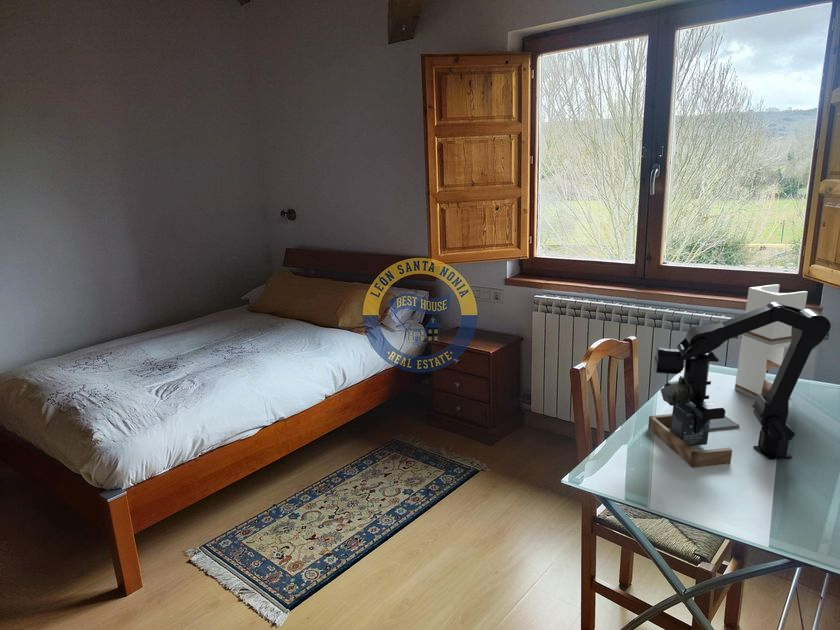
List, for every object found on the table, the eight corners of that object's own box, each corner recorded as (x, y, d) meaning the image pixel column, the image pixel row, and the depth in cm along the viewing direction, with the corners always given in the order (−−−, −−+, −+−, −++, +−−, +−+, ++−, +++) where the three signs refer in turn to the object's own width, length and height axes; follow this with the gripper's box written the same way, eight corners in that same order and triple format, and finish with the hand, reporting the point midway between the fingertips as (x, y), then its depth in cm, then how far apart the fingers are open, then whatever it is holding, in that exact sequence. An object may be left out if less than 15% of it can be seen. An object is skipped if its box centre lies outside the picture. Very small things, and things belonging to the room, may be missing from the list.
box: (680, 448, 150) (684, 412, 147) (669, 438, 155) (672, 403, 152) (708, 445, 151) (712, 409, 148) (695, 435, 156) (699, 400, 153)
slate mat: (739, 427, 162) (739, 425, 161) (700, 431, 160) (701, 429, 160) (712, 409, 173) (713, 407, 173) (676, 413, 171) (676, 410, 171)
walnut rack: (730, 463, 144) (732, 449, 143) (692, 467, 142) (694, 453, 141) (681, 425, 164) (683, 412, 163) (648, 428, 163) (649, 416, 162)
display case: (761, 402, 177) (778, 295, 167) (734, 389, 187) (748, 287, 177) (789, 396, 180) (807, 291, 170) (761, 384, 190) (777, 284, 180)
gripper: (648, 364, 155) (643, 415, 160) (688, 391, 138) (682, 448, 142) (685, 361, 157) (680, 412, 161) (730, 387, 139) (722, 444, 143)
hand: (689, 428), depth 152 cm, fingers closed on box, 6 cm apart
